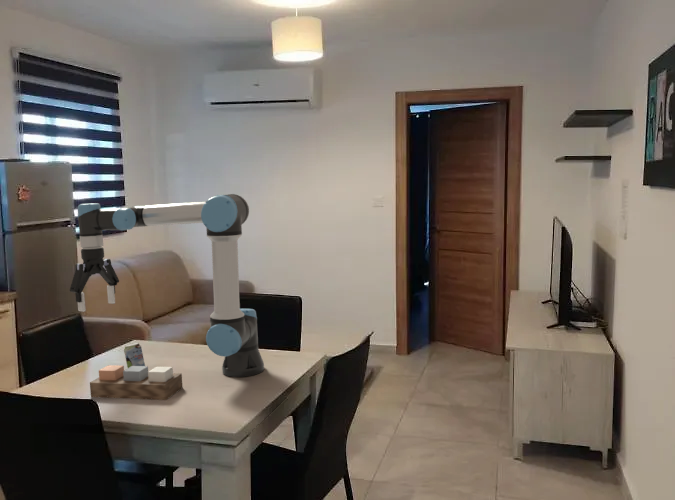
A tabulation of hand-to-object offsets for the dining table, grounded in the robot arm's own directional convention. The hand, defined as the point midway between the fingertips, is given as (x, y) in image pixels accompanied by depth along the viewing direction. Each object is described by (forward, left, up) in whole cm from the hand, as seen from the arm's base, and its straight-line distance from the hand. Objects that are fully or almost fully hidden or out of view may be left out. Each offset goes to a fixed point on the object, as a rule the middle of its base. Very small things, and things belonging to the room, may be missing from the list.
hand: (97, 307), depth 225 cm
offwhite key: (-29, +11, -22) cm, 38 cm away
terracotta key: (-11, +11, -22) cm, 27 cm away
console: (-20, +11, -27) cm, 35 cm away
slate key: (-20, +11, -22) cm, 32 cm away
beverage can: (-10, -6, -27) cm, 29 cm away
